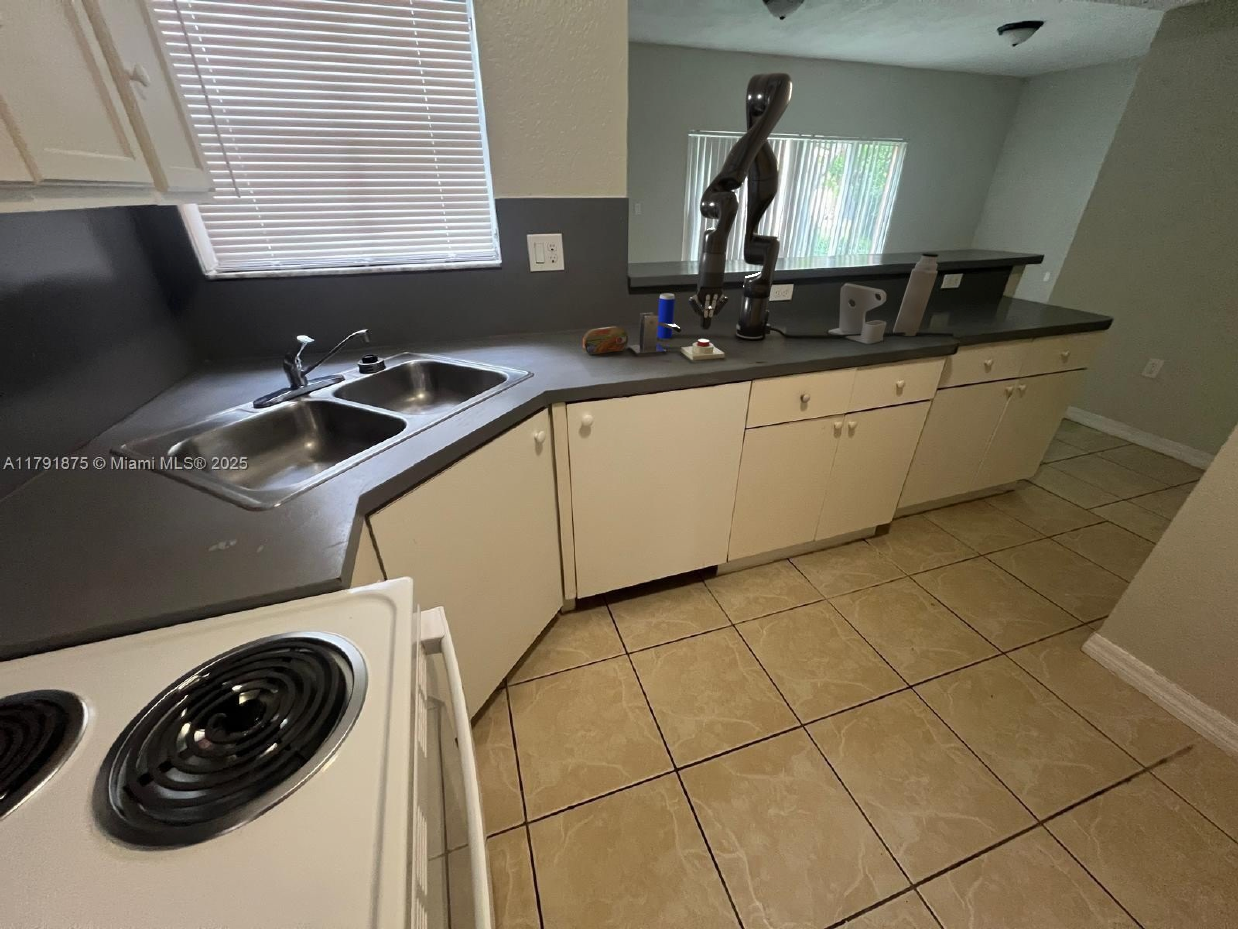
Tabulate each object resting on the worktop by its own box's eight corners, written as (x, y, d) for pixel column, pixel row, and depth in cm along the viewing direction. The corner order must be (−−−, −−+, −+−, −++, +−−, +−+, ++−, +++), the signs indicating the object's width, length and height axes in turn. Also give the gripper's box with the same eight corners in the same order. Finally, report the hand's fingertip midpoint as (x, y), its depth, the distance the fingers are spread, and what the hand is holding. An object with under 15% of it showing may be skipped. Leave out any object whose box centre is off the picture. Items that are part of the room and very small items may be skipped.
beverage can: (671, 337, 172) (675, 293, 165) (671, 341, 168) (675, 296, 160) (657, 336, 173) (659, 292, 165) (656, 340, 168) (659, 295, 161)
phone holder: (885, 340, 174) (901, 288, 165) (869, 344, 170) (884, 291, 160) (842, 328, 187) (855, 279, 177) (826, 332, 182) (838, 282, 173)
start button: (705, 343, 154) (706, 338, 153) (710, 347, 151) (711, 341, 150) (695, 344, 153) (696, 339, 152) (700, 348, 150) (701, 342, 149)
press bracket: (656, 346, 162) (659, 310, 156) (666, 354, 156) (668, 316, 150) (628, 349, 160) (629, 312, 154) (636, 356, 153) (638, 318, 147)
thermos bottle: (894, 329, 188) (918, 250, 174) (917, 332, 184) (944, 252, 170) (891, 333, 182) (916, 253, 168) (915, 337, 179) (943, 255, 164)
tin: (585, 358, 150) (585, 331, 146) (581, 355, 153) (580, 328, 148) (628, 352, 157) (628, 326, 152) (623, 349, 159) (624, 323, 155)
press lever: (673, 330, 159) (676, 323, 158) (679, 334, 155) (682, 327, 154) (640, 321, 154) (643, 313, 154) (646, 325, 150) (649, 317, 149)
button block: (710, 351, 159) (712, 339, 157) (724, 360, 152) (725, 347, 150) (680, 354, 156) (681, 341, 154) (692, 363, 149) (693, 350, 147)
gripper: (696, 271, 136) (690, 333, 144) (738, 270, 139) (730, 330, 148) (685, 267, 142) (680, 327, 151) (725, 266, 145) (718, 324, 154)
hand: (705, 328), depth 149 cm, fingers closed
